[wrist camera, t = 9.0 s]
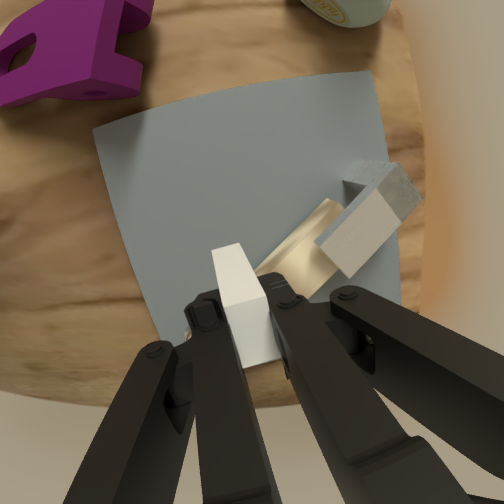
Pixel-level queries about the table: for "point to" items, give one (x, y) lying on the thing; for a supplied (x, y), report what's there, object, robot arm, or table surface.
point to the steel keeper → (368, 214)
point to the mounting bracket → (72, 51)
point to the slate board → (239, 182)
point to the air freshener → (349, 11)
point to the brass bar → (303, 253)
